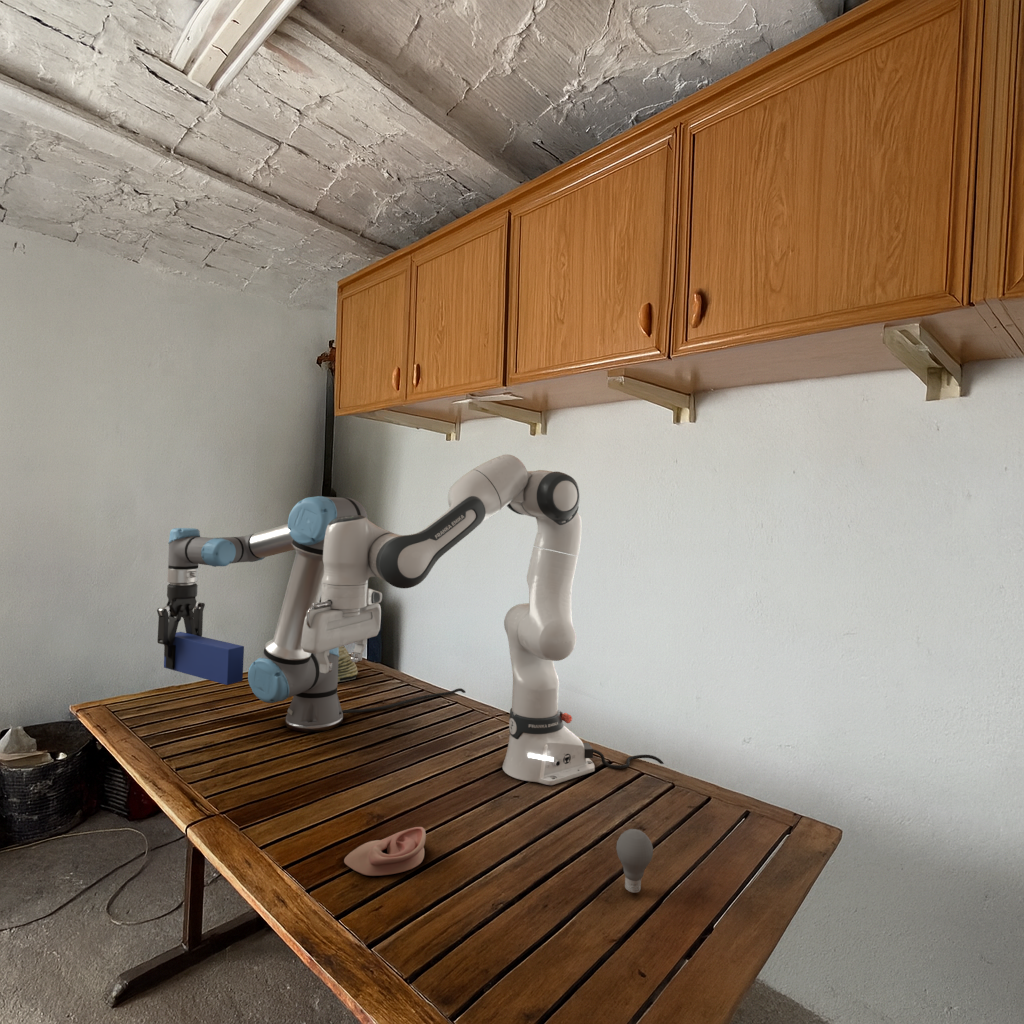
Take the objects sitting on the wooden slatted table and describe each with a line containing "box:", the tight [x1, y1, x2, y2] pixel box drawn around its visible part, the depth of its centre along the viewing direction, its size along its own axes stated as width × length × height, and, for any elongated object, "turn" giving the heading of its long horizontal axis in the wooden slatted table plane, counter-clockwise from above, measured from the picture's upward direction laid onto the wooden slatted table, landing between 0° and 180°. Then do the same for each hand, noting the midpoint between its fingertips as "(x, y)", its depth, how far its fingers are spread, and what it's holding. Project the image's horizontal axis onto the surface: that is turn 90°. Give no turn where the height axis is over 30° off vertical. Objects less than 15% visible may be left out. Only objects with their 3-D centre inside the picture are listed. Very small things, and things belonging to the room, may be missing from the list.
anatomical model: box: [343, 826, 427, 877], centre depth 112 cm, size 13×4×12 cm
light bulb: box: [615, 828, 654, 894], centre depth 106 cm, size 6×6×10 cm
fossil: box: [338, 645, 359, 683], centre depth 217 cm, size 9×18×15 cm, turn 132°
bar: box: [163, 631, 245, 686], centre depth 173 cm, size 27×5×9 cm, turn 62°
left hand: (179, 665), depth 178 cm, fingers closed on bar, 5 cm apart
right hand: (341, 666), depth 126 cm, fingers open, 8 cm apart
